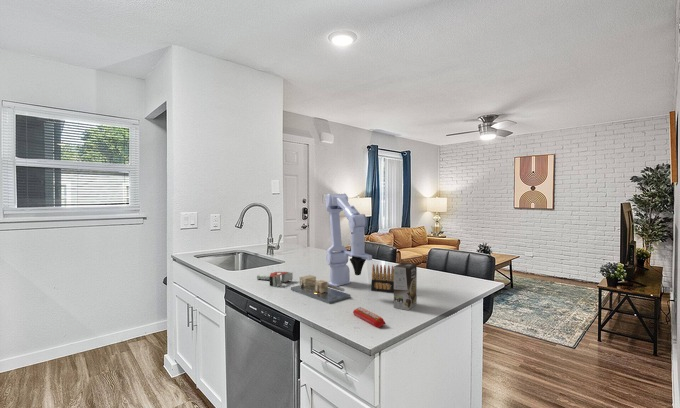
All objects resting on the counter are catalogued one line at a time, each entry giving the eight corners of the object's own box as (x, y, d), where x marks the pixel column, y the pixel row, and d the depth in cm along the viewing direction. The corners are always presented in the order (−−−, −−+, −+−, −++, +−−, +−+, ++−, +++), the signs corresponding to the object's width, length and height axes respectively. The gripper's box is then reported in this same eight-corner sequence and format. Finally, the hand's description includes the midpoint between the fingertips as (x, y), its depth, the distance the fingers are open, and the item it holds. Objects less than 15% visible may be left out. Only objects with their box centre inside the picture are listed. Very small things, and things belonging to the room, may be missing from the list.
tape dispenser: (256, 281, 176) (258, 289, 157) (256, 271, 177) (257, 278, 157) (290, 277, 181) (296, 284, 162) (289, 267, 181) (295, 273, 162)
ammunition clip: (371, 290, 152) (370, 264, 152) (372, 289, 154) (372, 263, 154) (394, 293, 148) (394, 266, 148) (395, 292, 150) (395, 265, 150)
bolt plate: (311, 285, 162) (311, 282, 162) (350, 297, 142) (350, 294, 142) (290, 289, 154) (290, 287, 154) (329, 303, 134) (328, 300, 134)
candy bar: (351, 315, 122) (351, 306, 122) (359, 313, 124) (359, 305, 124) (378, 330, 109) (378, 320, 108) (387, 327, 110) (387, 318, 110)
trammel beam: (310, 283, 160) (310, 275, 160) (345, 294, 142) (345, 284, 142) (298, 286, 156) (298, 277, 155) (333, 298, 138) (332, 287, 138)
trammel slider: (321, 289, 150) (321, 279, 149) (327, 291, 147) (327, 281, 146) (314, 291, 147) (314, 281, 147) (320, 293, 144) (320, 283, 144)
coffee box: (409, 310, 126) (409, 267, 125) (393, 307, 129) (393, 266, 129) (417, 304, 133) (417, 263, 133) (402, 301, 137) (401, 261, 136)
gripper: (339, 242, 145) (339, 273, 146) (363, 245, 135) (363, 279, 135) (351, 240, 150) (351, 270, 150) (375, 243, 139) (375, 276, 140)
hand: (357, 274), depth 143 cm, fingers closed
